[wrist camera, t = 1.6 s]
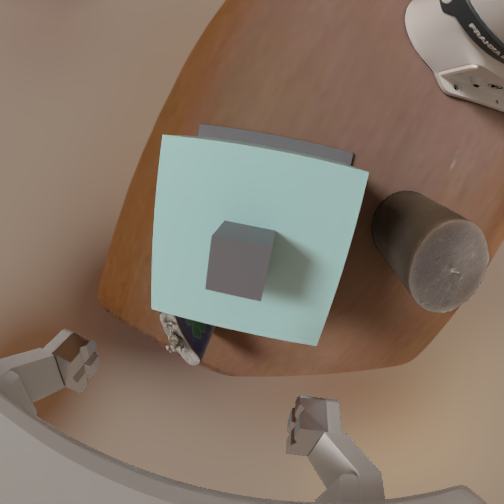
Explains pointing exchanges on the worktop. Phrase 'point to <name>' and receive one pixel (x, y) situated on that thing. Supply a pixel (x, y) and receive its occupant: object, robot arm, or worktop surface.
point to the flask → (187, 336)
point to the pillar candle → (430, 249)
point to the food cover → (251, 235)
